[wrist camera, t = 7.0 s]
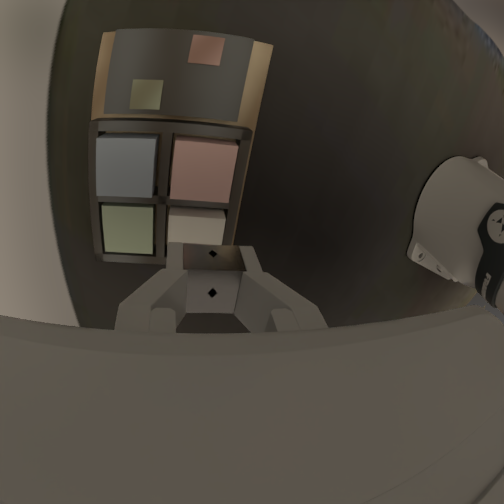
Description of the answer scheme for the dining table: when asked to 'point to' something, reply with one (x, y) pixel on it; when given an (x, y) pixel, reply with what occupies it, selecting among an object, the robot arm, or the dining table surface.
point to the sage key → (129, 227)
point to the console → (175, 112)
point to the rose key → (203, 169)
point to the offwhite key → (196, 225)
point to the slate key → (126, 164)
